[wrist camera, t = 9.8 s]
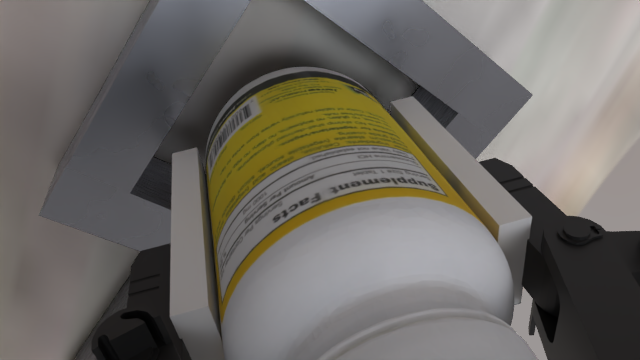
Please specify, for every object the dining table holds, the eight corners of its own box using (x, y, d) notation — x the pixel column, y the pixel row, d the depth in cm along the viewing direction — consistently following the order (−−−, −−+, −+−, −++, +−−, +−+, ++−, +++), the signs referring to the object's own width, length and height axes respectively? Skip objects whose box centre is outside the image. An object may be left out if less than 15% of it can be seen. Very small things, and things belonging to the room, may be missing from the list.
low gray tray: (231, -149, 15) (244, -151, 12) (484, 62, 20) (532, 95, 18) (-35, 331, 21) (-66, 401, 19) (211, 388, 27) (215, 448, 24)
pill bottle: (372, 215, 19) (545, 533, 10) (207, 229, 18) (240, 614, 9) (398, 58, 16) (686, 318, 7) (199, 58, 14) (236, 389, 5)
